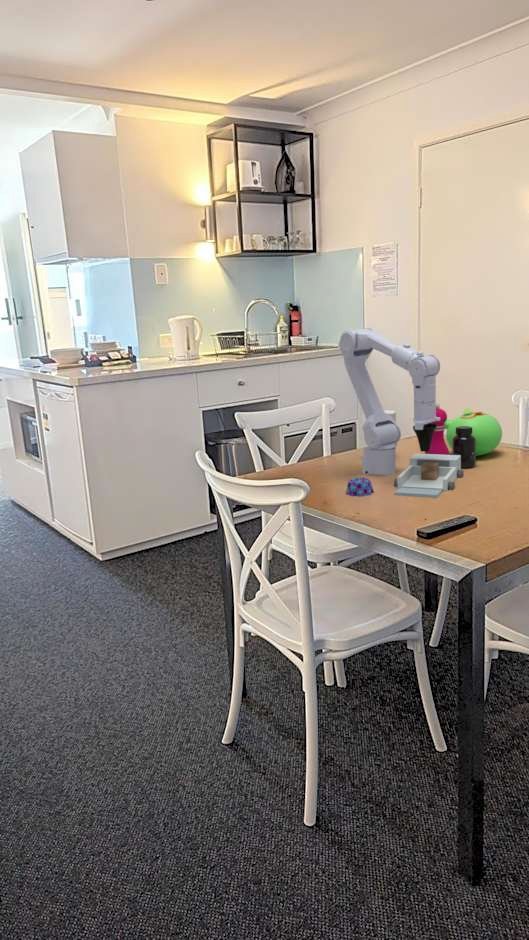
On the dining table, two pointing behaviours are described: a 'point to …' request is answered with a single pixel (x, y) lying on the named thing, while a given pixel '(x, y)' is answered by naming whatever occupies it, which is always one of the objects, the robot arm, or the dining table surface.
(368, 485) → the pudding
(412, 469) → the ute bed
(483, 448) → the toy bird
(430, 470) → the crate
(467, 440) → the supplement bottle
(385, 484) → the dining table surface
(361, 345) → the robot arm
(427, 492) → the panel
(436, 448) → the pepper mill
